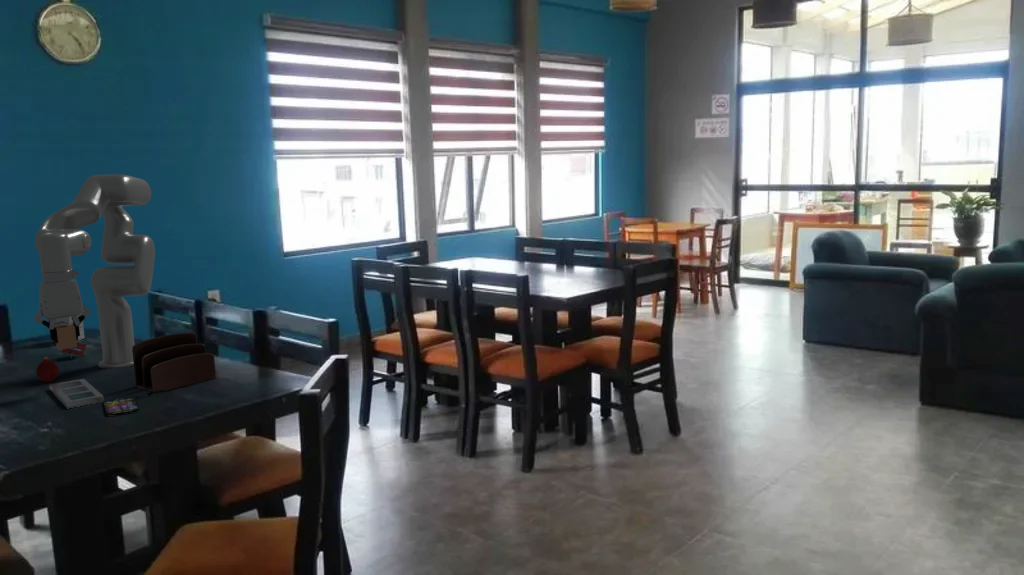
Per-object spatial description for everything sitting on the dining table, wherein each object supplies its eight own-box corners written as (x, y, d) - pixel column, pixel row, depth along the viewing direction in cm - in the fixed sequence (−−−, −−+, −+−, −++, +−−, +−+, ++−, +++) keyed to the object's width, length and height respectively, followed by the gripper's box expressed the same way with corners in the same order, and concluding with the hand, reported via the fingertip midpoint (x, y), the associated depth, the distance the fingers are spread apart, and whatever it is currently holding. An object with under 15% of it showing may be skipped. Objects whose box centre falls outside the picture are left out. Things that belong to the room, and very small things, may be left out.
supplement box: (53, 343, 300) (49, 309, 298) (67, 339, 307) (64, 305, 305) (72, 343, 299) (68, 309, 297) (85, 339, 306) (82, 305, 304)
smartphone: (134, 396, 226) (139, 409, 213) (135, 399, 227) (140, 413, 214) (103, 400, 223) (106, 415, 210) (103, 404, 223) (106, 418, 210)
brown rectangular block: (73, 344, 236) (71, 323, 235) (77, 347, 233) (74, 325, 232) (56, 346, 234) (53, 325, 233) (59, 349, 230) (56, 328, 229)
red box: (90, 347, 283) (73, 330, 279) (92, 350, 277) (74, 333, 273) (73, 361, 280) (55, 345, 277) (74, 365, 275) (56, 349, 271)
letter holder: (135, 389, 236) (130, 341, 234) (198, 374, 252) (194, 328, 249) (153, 394, 230) (148, 345, 228) (217, 378, 245) (213, 332, 243)
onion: (64, 381, 246) (61, 355, 245) (46, 386, 241) (43, 360, 240) (51, 379, 248) (48, 354, 247) (33, 384, 243) (30, 358, 242)
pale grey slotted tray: (84, 385, 241) (83, 378, 241) (104, 403, 222) (103, 395, 222) (50, 391, 236) (49, 384, 235) (67, 409, 217) (66, 402, 217)
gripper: (88, 272, 238) (95, 333, 241) (21, 279, 228) (29, 343, 231) (94, 274, 232) (101, 338, 235) (25, 282, 222) (34, 348, 225)
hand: (65, 340), depth 233 cm, fingers closed on brown rectangular block, 4 cm apart
